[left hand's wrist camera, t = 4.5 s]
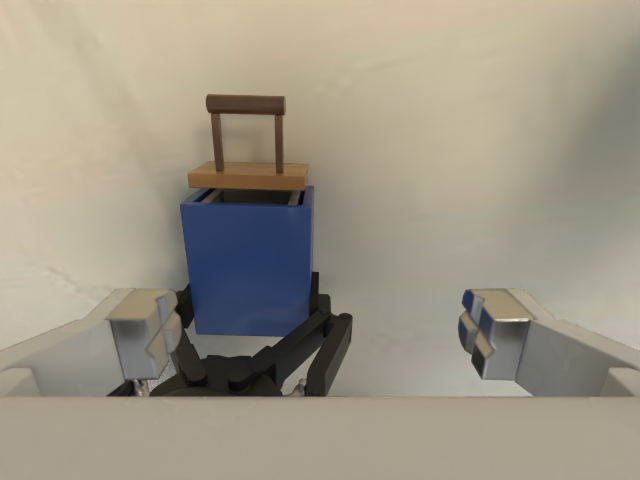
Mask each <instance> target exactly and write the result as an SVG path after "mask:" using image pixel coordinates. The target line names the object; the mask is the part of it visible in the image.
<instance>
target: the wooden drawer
mask: <svg viewBox="0 0 640 480" xmlns="http://www.w3.org/2000/svg"><path fill="white" fill-rule="evenodd" d="M206 107H207V110H208V112H209V113H212V114H211V120H212V132H213V144H214V155H215V162H208V163H206V164H204V165H202V166H200V167H199V168H197V169H195V170H193V171H191V172H190V173H188V181H189V187H191V188H217V189H216V190H215V191H214V192H212V193H211V194H210V195H209V196H208V197H206V198H205V199H204V200H203V201H202V202H207V203H243V204H279V205H300V191H305V188H306V183H307V179H308V164H283V115H285V112H286V101H285V97H284V96H254V95H218V94H208V95H207V97H206ZM219 113H220V114H256V115H275V145H276V163H244V162H224V161H223V148H222V134H221V121H220V114H219Z"/></svg>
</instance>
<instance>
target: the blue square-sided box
mask: <svg viewBox="0 0 640 480" xmlns="http://www.w3.org/2000/svg"><path fill="white" fill-rule="evenodd" d="M216 189H217V188H201V189H200V190H199V191H197V192H196V193H195V194H193V195H192V196H190V197H189V198H188V199H186V200H185V201H184V202H183V203H181V204H180V209H181V217H182V225H183V233H184V241H185V249H186V257H187V265H188V272H189V280H190V288H191V296H192V304H193V312H194V320H195V328H196V334H204V335H239V336H274V337H285V336H287V335H288V334H289V333H290V332H292V331H293V330H294V329H295V328H297V327H298V326H299V325H300V324H301V323H303V322H304V321H305V320H306V319H308V318H309V303H310V290H311V276H312V270H313V218H314V187H313V186H306V188H305V191H300V205H279V204H243V203H207V202H202V201H203V200H204V199H205V198H206V197H208V196H209V195H210V194H211V193H212V192H214V191H215V190H216Z"/></svg>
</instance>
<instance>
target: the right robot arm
mask: <svg viewBox="0 0 640 480" xmlns="http://www.w3.org/2000/svg"><path fill="white" fill-rule="evenodd" d="M318 288H319V272H312V276H311V290H310V303H309V318H308V319H306V320H305V321H304V322H303V323H301V324H300V325H299V326H298V327H297V328H295V329H294V330H293V331H292V332H290V333H289V334H288V335H287V336H285V337H284V338H283V339H282V340H280V341H279V342H278V343H277V344H275V345H274V346H273V347H270V346H266V347H264V348H263V349H262V350H261V351H259V352H258V353H257V354H255V355H254V356H253V357H252V358H251V356H236V357H229V358H228V357H223V356H219V355H207V358H205V359H201V360H200V358H199V356H198V354H197V352H196V350H195V347H194V345H193V344H191V343H190V341H189V339H188V337H187V334H186V332H185V330H184V328H188V327H189V325H190V323H191V322H192V320H193V318H194V312H193V304H192V296H191V288H190V283H189V284H188V286H187V287H186V288H185V290H184V291H178V292H176V295H177V300H178V304H177V306H176V307H175V309H174V311H175V312H176V313H177V314H178V315H179V316H180V317H181V323H182V334H181V338H180V342H179V344H178V346H177V348H176V350H175V351H173V352H172V353H170V355H171V358H172V361H173V363H174V366H175V369H176V371H177V374H175V375H174V376H172V377H171V378H169V379H168V380H166V381H165V382H163V383H161V384H160V385H158V386H157V387H155V388H154V389H153V390H152V391H151V392H149V387H148V382H147V380H125V382H124V383H123V384H122V385H120V386H119V387H118V388H116V389H115V390H114V391H112V392H111V393H110V394H108V395H107V396H106V397H326V396H327V394H328V391H329V389H330V387H331V385H332V383H333V380H334V378H335V376H336V374H337V372H338V369H339V367H340V365H341V363H342V361H343V358H344V356H345V354H346V352H347V349H348V347H349V345H350V343H351V334H352V319H353V317H352V315H350V314H348V313H342V314H340V315H339V316H336V315H333V314H332V313H331V301H330V296H329V295H328V294H318ZM321 345H322V346H321ZM320 346H321V348H320V350H319V351H318V353H317V355H316V357H315V358H314V360H313V362H312V364H311V366H310V368H309V370H308V374H307V379H300V380H299V384H298V385H297V386H296V387H295V389H294V391H293V392H292V393H291V394H289V395H283V394H282V392H281V391H280V389H281V388H282V385H283V383H284V381H285V379H286V378H287V377H289V376H290V375H291V374H292V373H293V372H294V371H295V370H296V369H297V368H298V367H299V366H300V365H301V364H302V363H303V362H304V361H305V360H306V359H307V358H308V357H310V356H311V355H312V354H313V353H314V352H315V351H316V350H317V349H318V348H319V347H320Z"/></svg>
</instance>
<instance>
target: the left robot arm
mask: <svg viewBox="0 0 640 480" xmlns="http://www.w3.org/2000/svg"><path fill="white" fill-rule="evenodd" d="M177 304H178V300H177V295H176V292H175V291H174V290H173V289H136V288H121V289H115V290H114V291H113V292H112V293H111V294H110V295H109V296H108V297H107V298H106V299H104V300H103V301H102V302H101V303H100V304H99V305H98V306H97V307H96V308H95V309H93V310H92V311H91V312H90V313H89V314H88V315H87V316H86V317H85V318H84V319H83V320H75V321H72V322H70V323H67V324H65V325H62V326H60V327H57V328H55V329H53V330H50V331H48V332H45V333H43V334H40V335H38V336H35V337H33V338H30V339H28V340H26V341H23V342H21V343H18V344H16V345H13V346H11V347H8V348H6V349H4V350H1V351H0V480H640V351H639V350H636V349H634V348H631V347H629V346H626V345H624V344H622V343H619V342H617V341H614V340H612V339H609V338H607V337H605V336H602V335H600V334H597V333H595V332H592V331H590V330H587V329H585V328H583V327H580V326H578V325H575V324H573V323H570V322H568V321H565V320H557V319H556V318H555V317H554V316H553V315H552V314H551V313H550V312H549V311H548V310H547V309H545V308H544V307H543V306H542V305H541V304H540V303H539V302H538V301H537V300H536V299H535V298H533V297H532V296H531V295H530V294H529V293H528V292H527V291H526V290H525V289H521V288H509V289H505V288H503V289H469V290H465V293H464V295H463V299H462V304H463V306H464V307H465V309H466V311H465V312H464V313H463V314H462V315H461V316H460V317H459V324H458V332H459V339H460V342H461V344H462V346H463V348H464V350H465V351H467V352H468V353H470V354H472V360H471V362H472V364H473V366H474V367H475V369H476V371H477V372H478V374H479V376H480V377H481V379H482V380H515V382H516V383H517V384H519V385H520V386H521V387H523V388H524V389H525V390H527V391H528V392H529V393H531V394H532V395H533V396H535V397H106V396H107V395H108V394H110V393H111V392H112V391H114V390H115V389H116V388H118V387H119V386H120V385H122V384H123V383H124V382H125V380H157V379H159V377H160V376H161V374H162V372H163V371H164V369H165V367H166V366H167V364H168V362H169V360H168V354H170V353H172V352H173V351H175V350H176V348H177V346H178V344H179V342H180V338H181V334H182V323H181V317H180V316H179V315H178V314H177V313H176V312H175V311H174V309H175V307H176V306H177Z"/></svg>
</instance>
